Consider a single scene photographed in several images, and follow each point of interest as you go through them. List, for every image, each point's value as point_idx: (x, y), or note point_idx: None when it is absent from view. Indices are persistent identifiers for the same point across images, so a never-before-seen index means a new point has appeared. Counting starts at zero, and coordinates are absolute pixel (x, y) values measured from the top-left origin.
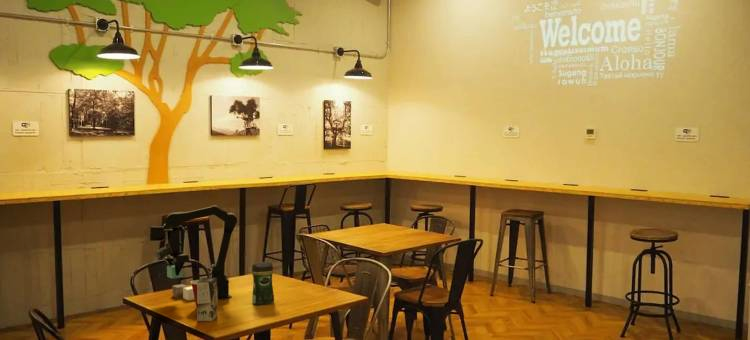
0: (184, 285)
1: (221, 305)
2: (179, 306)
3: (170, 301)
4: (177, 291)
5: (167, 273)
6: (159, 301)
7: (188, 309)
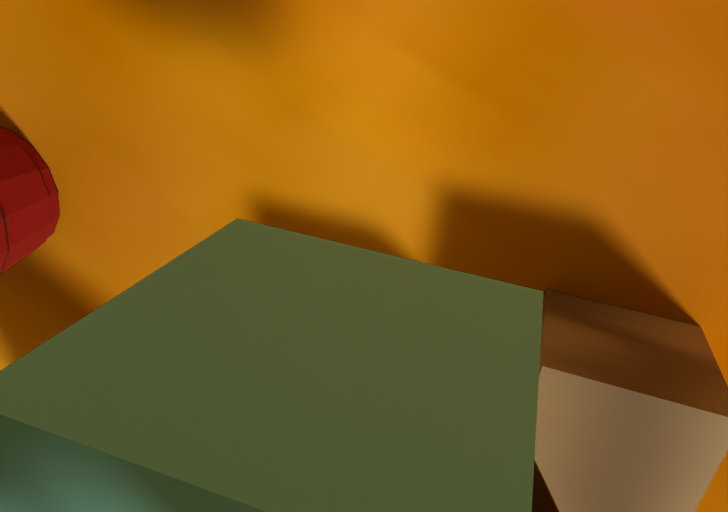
0: (566, 505)
1: (11, 327)
2: (180, 61)
3: (469, 131)
4: (541, 338)
5: (507, 339)
6: (607, 20)
7: (24, 55)
